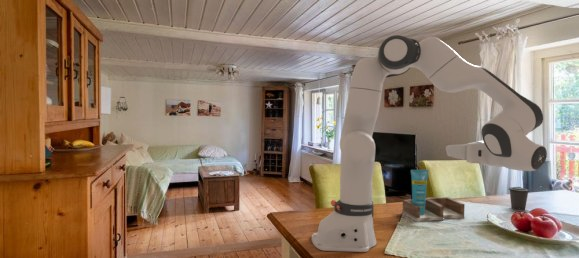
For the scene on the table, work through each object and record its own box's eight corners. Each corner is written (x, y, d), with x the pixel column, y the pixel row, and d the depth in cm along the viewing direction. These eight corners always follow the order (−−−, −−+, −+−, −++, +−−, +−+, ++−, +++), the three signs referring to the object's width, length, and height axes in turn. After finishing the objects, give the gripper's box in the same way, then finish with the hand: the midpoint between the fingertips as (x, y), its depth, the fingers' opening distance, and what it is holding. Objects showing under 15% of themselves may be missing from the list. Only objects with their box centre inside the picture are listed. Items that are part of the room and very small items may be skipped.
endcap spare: (438, 218, 137) (438, 205, 137) (423, 210, 149) (423, 197, 149) (464, 217, 139) (464, 204, 138) (447, 209, 150) (447, 197, 150)
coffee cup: (522, 206, 156) (522, 185, 156) (532, 211, 148) (533, 189, 148) (504, 205, 157) (504, 185, 157) (514, 210, 149) (514, 189, 149)
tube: (412, 215, 137) (413, 170, 136) (407, 211, 142) (408, 168, 141) (429, 215, 138) (430, 170, 137) (424, 211, 142) (425, 168, 142)
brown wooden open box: (416, 221, 134) (416, 207, 133) (402, 212, 146) (402, 199, 145) (443, 220, 135) (443, 206, 135) (427, 211, 147) (427, 198, 147)
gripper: (514, 142, 109) (479, 139, 122) (466, 143, 103) (435, 140, 116) (514, 160, 109) (479, 155, 122) (466, 163, 103) (435, 157, 116)
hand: (457, 148), depth 119 cm, fingers open, 8 cm apart
